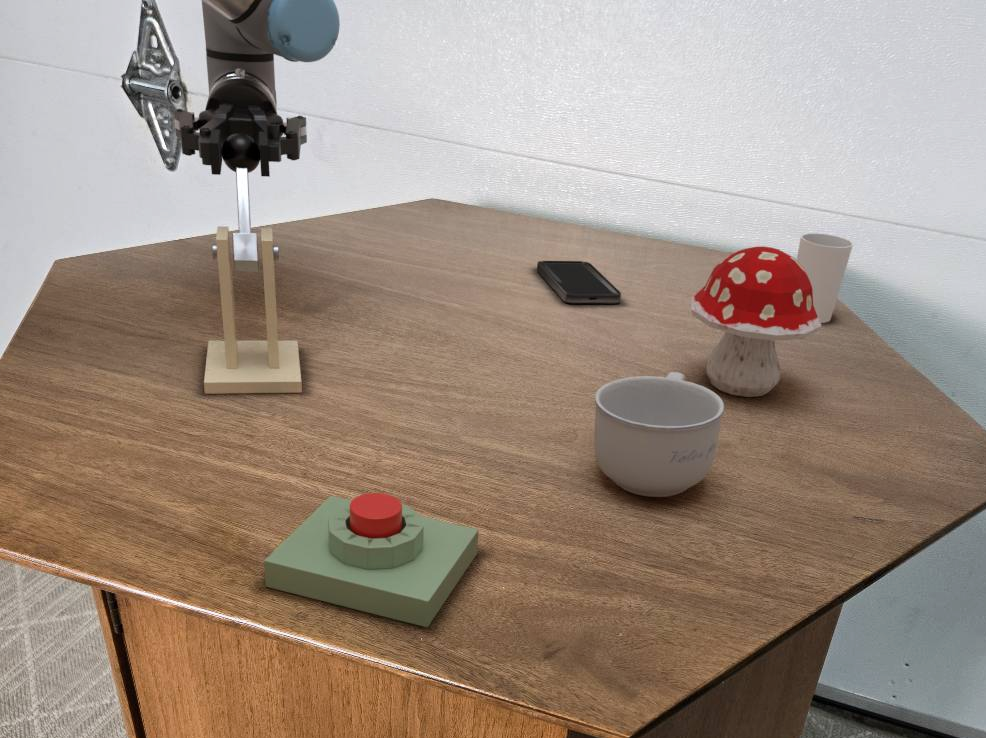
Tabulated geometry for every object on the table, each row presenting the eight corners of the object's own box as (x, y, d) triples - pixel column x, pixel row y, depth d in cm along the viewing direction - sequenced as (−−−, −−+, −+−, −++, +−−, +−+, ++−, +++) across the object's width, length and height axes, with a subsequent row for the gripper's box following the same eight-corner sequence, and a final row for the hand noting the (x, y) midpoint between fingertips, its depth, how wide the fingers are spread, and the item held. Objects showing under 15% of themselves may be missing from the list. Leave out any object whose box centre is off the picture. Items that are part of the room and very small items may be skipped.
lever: (222, 145, 96) (219, 124, 92) (260, 147, 97) (258, 126, 93) (228, 274, 94) (225, 258, 90) (266, 274, 95) (265, 258, 91)
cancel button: (341, 533, 68) (340, 511, 67) (363, 509, 71) (363, 488, 70) (389, 545, 67) (389, 523, 66) (409, 520, 70) (410, 499, 69)
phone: (588, 261, 139) (623, 295, 127) (587, 269, 140) (622, 303, 128) (534, 260, 137) (565, 294, 125) (534, 268, 138) (564, 303, 126)
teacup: (680, 524, 80) (697, 436, 76) (563, 485, 84) (573, 399, 80) (736, 463, 91) (753, 383, 87) (630, 430, 95) (642, 352, 91)
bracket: (209, 351, 102) (196, 216, 95) (297, 351, 105) (292, 219, 97) (204, 394, 93) (190, 248, 86) (301, 392, 96) (295, 251, 88)
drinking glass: (824, 327, 127) (843, 250, 122) (776, 314, 130) (793, 238, 125) (841, 316, 132) (860, 241, 127) (794, 304, 135) (811, 230, 130)
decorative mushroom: (650, 374, 108) (671, 236, 100) (736, 354, 116) (762, 225, 108) (743, 422, 99) (775, 275, 91) (830, 397, 107) (866, 260, 99)
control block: (265, 586, 68) (262, 537, 66) (331, 519, 76) (330, 474, 74) (427, 628, 65) (429, 578, 63) (477, 554, 74) (480, 508, 72)
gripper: (157, 72, 104) (135, 110, 84) (318, 82, 108) (333, 120, 89) (165, 147, 108) (146, 199, 88) (320, 154, 112) (334, 205, 93)
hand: (239, 159), depth 89 cm, fingers closed on lever, 4 cm apart
